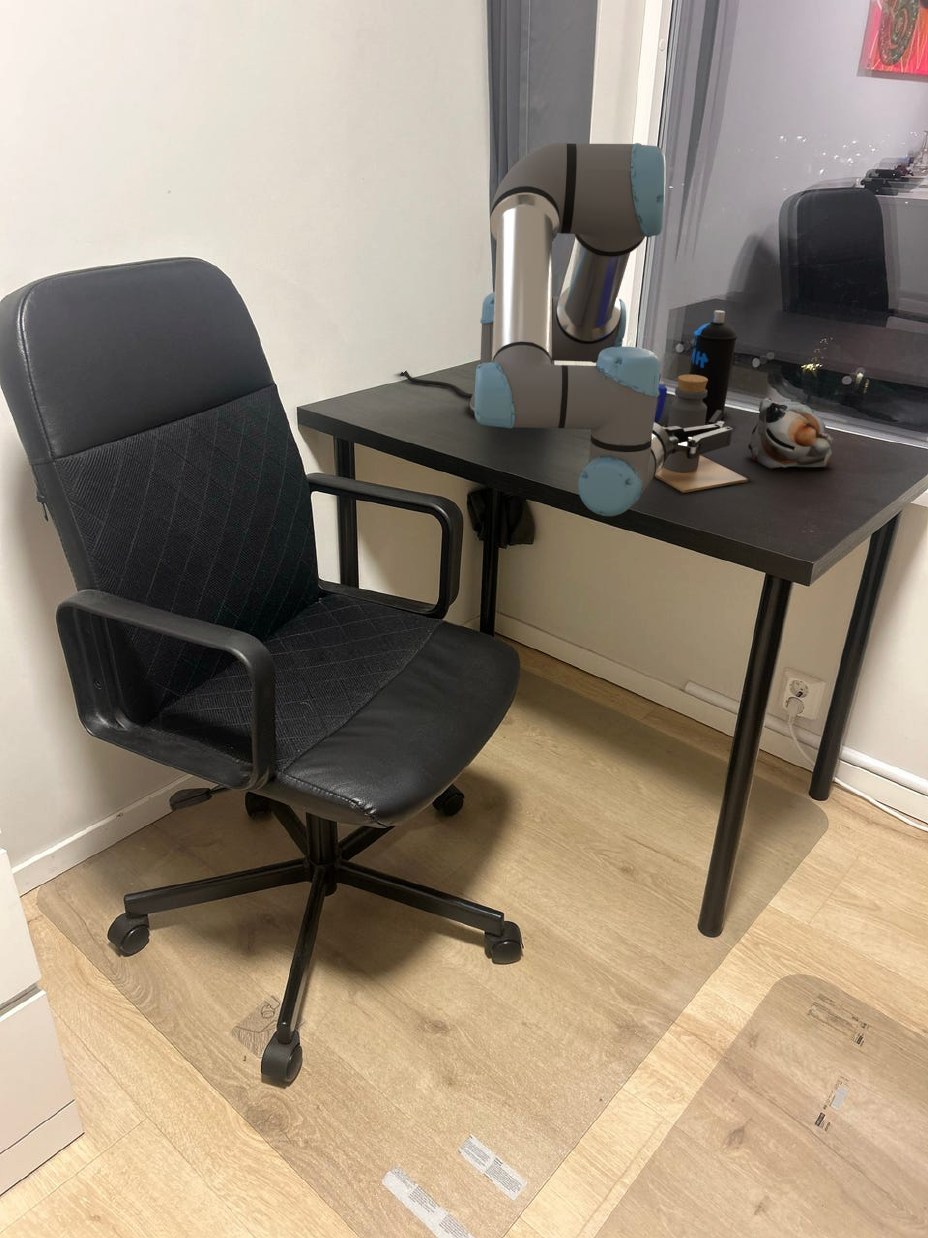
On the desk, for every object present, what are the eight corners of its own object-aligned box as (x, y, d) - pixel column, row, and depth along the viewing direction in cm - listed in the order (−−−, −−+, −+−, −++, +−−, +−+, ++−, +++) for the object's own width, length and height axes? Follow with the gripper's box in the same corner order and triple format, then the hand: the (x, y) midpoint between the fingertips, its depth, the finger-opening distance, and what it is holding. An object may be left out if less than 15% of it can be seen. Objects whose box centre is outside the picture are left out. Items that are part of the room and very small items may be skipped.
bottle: (658, 469, 147) (670, 379, 140) (667, 458, 152) (679, 371, 144) (693, 475, 145) (707, 384, 138) (701, 464, 150) (715, 376, 142)
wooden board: (613, 453, 155) (614, 451, 155) (673, 444, 160) (674, 442, 160) (683, 492, 140) (684, 490, 139) (747, 481, 144) (748, 478, 144)
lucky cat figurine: (844, 464, 152) (865, 405, 141) (797, 502, 149) (814, 445, 138) (776, 419, 159) (790, 360, 148) (729, 455, 156) (740, 397, 145)
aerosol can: (720, 409, 180) (738, 307, 170) (727, 421, 173) (745, 316, 163) (680, 407, 180) (694, 306, 171) (684, 419, 173) (700, 314, 163)
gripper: (549, 465, 125) (594, 424, 142) (726, 495, 116) (751, 448, 133) (552, 413, 122) (598, 377, 138) (735, 441, 113) (761, 399, 129)
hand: (673, 412), depth 136 cm, fingers open, 13 cm apart
